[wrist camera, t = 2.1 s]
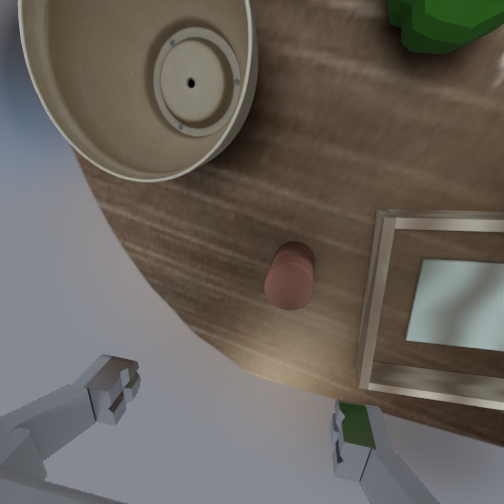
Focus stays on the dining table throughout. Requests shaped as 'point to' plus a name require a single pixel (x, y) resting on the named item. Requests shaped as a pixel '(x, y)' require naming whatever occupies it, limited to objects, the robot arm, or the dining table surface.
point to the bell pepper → (443, 22)
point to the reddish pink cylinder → (291, 276)
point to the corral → (436, 310)
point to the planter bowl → (143, 78)
